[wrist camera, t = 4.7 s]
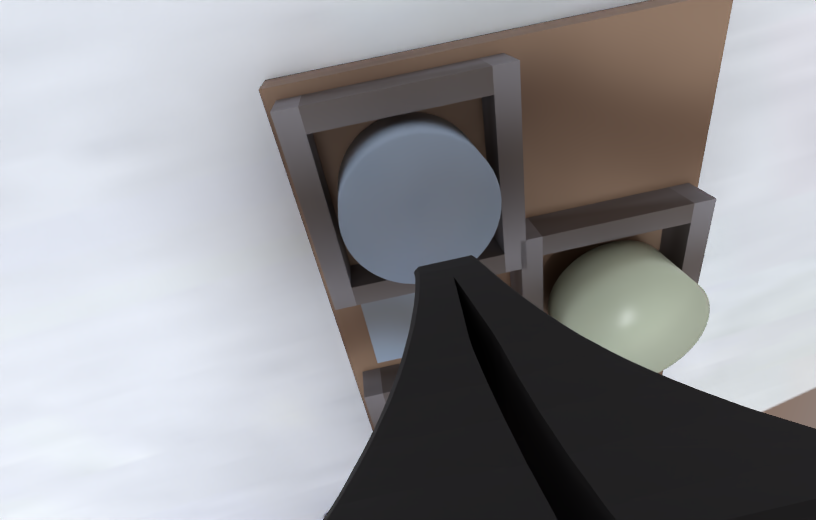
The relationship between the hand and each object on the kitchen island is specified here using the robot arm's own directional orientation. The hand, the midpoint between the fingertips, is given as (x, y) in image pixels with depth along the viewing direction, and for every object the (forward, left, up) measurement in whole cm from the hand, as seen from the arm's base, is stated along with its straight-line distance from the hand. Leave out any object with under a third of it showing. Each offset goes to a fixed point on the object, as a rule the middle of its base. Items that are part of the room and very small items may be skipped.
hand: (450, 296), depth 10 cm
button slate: (0, 0, -7) cm, 7 cm away
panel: (-6, -4, -8) cm, 11 cm away
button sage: (-6, -7, -6) cm, 11 cm away
